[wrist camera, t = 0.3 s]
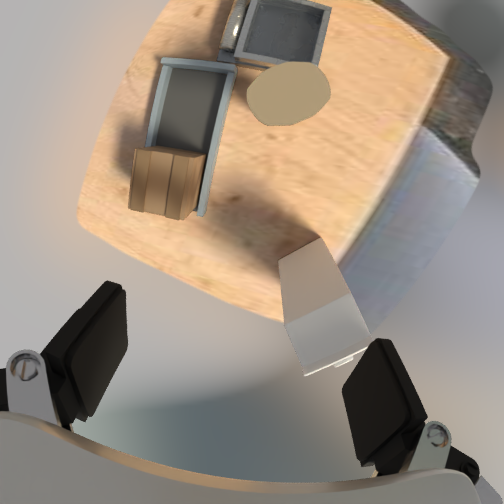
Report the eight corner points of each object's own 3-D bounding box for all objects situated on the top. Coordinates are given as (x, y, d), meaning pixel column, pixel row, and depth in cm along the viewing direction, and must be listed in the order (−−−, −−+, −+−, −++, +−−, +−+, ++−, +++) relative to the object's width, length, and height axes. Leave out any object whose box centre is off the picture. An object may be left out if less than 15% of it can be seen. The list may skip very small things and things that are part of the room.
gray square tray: (238, -1, 25) (235, -14, 21) (325, 17, 26) (332, 6, 22) (218, 63, 29) (213, 55, 26) (309, 82, 30) (315, 76, 26)
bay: (169, 62, 29) (162, 57, 26) (237, 70, 30) (235, 64, 27) (143, 199, 37) (134, 204, 34) (205, 212, 37) (201, 219, 35)
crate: (157, 145, 33) (133, 148, 27) (207, 154, 34) (193, 158, 27) (149, 195, 36) (126, 208, 29) (197, 205, 36) (182, 221, 30)
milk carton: (277, 259, 40) (286, 353, 22) (321, 236, 38) (363, 317, 21) (299, 295, 42) (318, 393, 25) (340, 274, 40) (383, 364, 23)
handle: (246, 106, 32) (235, 83, 18) (291, 85, 30) (311, 52, 16) (264, 137, 33) (265, 137, 19) (309, 117, 32) (340, 104, 18)
